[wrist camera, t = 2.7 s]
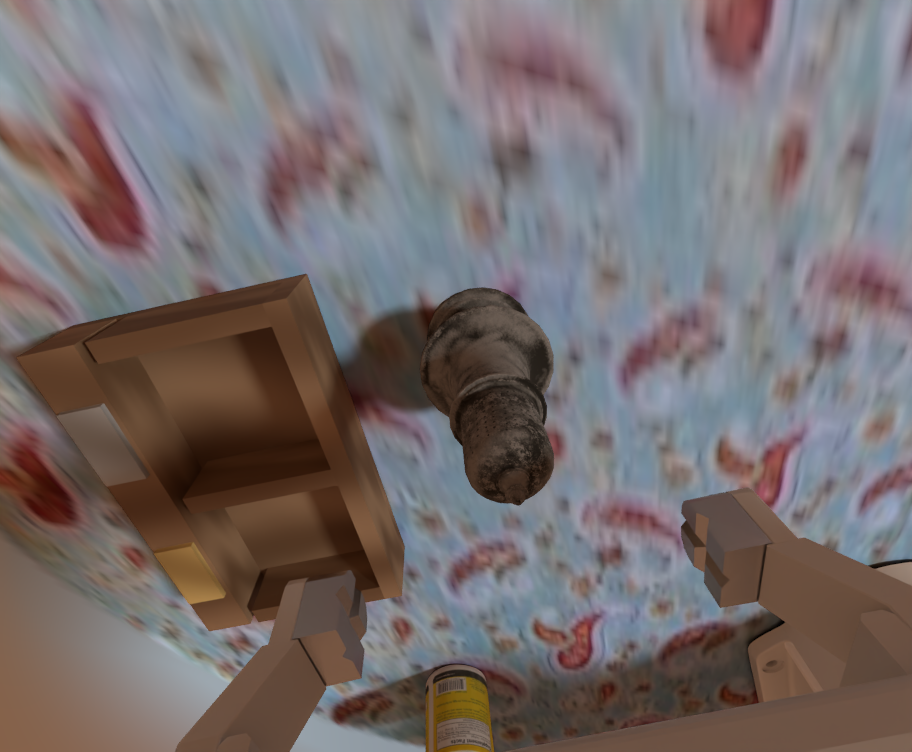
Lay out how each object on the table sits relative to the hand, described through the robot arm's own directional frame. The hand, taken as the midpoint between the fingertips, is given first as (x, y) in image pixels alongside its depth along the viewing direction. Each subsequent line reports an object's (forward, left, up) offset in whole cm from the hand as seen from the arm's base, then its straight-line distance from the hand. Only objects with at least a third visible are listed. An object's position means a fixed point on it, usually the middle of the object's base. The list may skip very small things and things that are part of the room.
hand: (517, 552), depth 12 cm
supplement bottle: (-28, +7, -14) cm, 32 cm away
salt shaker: (0, 0, -14) cm, 14 cm away
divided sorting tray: (-4, +13, -14) cm, 19 cm away
